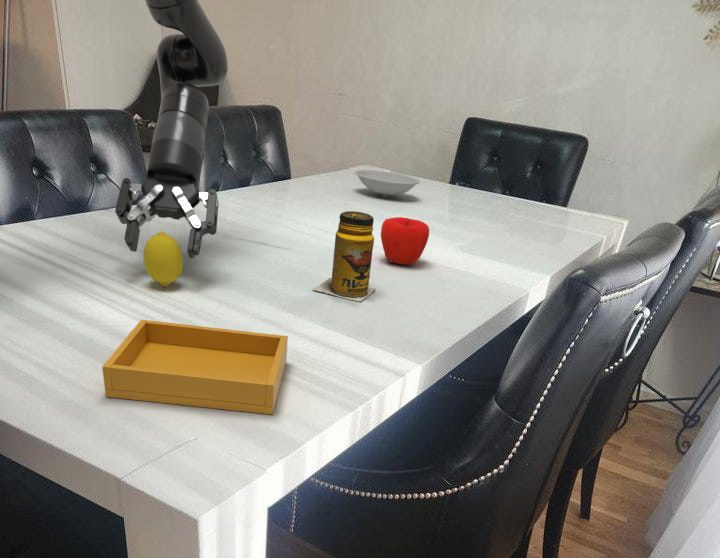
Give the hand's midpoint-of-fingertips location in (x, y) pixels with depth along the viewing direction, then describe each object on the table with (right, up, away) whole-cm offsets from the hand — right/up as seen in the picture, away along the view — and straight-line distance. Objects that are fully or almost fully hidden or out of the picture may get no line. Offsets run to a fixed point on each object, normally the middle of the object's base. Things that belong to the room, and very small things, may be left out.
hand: (161, 252), depth 94 cm
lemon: (-1, -4, +4) cm, 5 cm away
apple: (+37, +8, +29) cm, 47 cm away
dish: (+36, +43, +80) cm, 97 cm away
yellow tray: (+11, -22, -20) cm, 31 cm away
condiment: (+26, -2, +12) cm, 29 cm away
